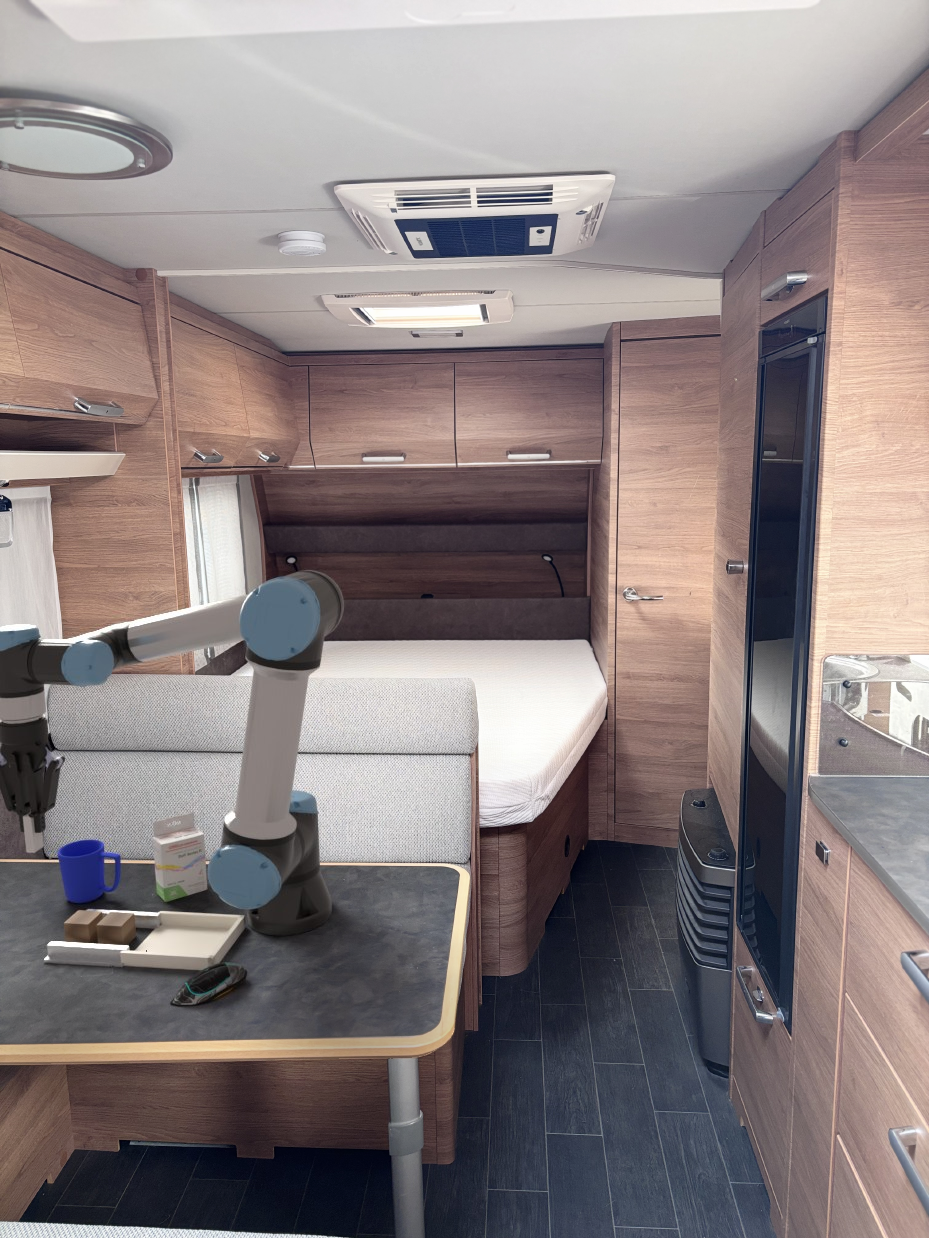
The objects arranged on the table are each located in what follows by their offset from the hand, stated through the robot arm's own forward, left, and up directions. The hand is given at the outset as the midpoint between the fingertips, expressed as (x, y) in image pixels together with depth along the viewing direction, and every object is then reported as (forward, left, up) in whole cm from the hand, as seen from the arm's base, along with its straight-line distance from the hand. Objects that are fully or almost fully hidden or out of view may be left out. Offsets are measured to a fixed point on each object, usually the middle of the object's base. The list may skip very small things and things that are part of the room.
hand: (35, 849), depth 153 cm
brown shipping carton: (-8, 0, -17) cm, 18 cm away
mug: (-1, -15, -17) cm, 23 cm away
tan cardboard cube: (-14, 0, -17) cm, 22 cm away
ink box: (-17, -19, -17) cm, 30 cm away
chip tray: (-26, 0, -17) cm, 31 cm away
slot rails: (-12, 0, -17) cm, 20 cm away
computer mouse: (-36, +13, -17) cm, 42 cm away
